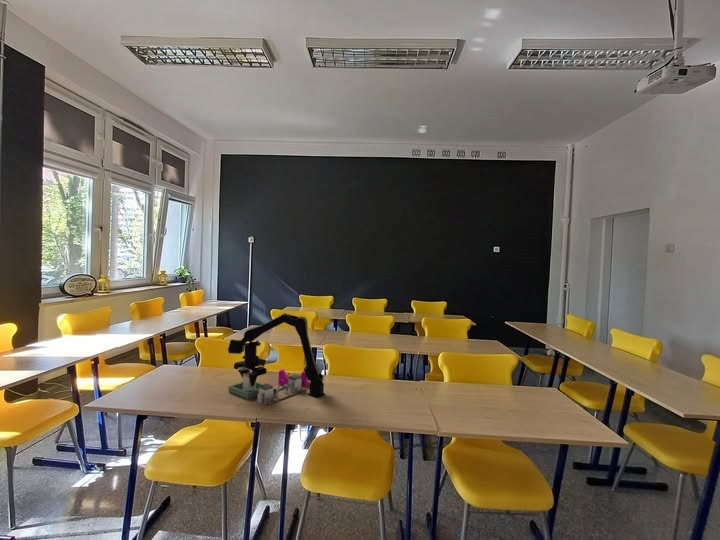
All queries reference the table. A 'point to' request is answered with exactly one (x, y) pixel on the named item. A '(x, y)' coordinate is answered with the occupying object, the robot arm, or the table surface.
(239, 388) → the tray
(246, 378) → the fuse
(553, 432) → the table surface
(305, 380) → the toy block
